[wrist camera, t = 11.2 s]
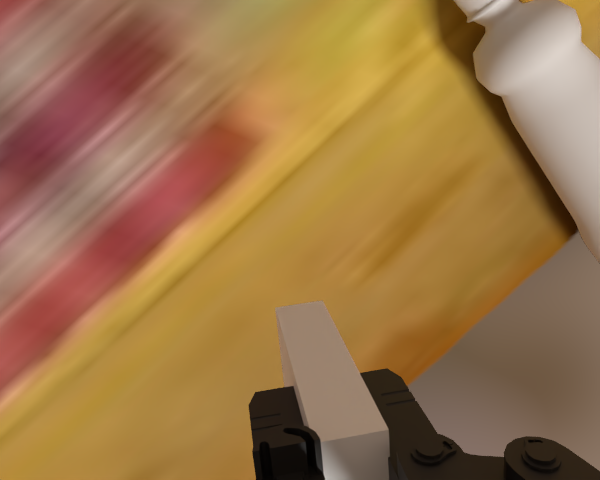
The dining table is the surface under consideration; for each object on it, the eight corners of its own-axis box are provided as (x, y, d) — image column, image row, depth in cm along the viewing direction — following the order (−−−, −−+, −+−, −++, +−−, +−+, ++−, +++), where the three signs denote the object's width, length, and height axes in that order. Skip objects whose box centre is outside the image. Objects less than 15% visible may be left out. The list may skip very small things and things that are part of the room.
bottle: (719, 216, 46) (528, -87, 39) (754, 276, 38) (526, -81, 32) (610, 259, 51) (426, -1, 45) (623, 319, 44) (406, 20, 38)
